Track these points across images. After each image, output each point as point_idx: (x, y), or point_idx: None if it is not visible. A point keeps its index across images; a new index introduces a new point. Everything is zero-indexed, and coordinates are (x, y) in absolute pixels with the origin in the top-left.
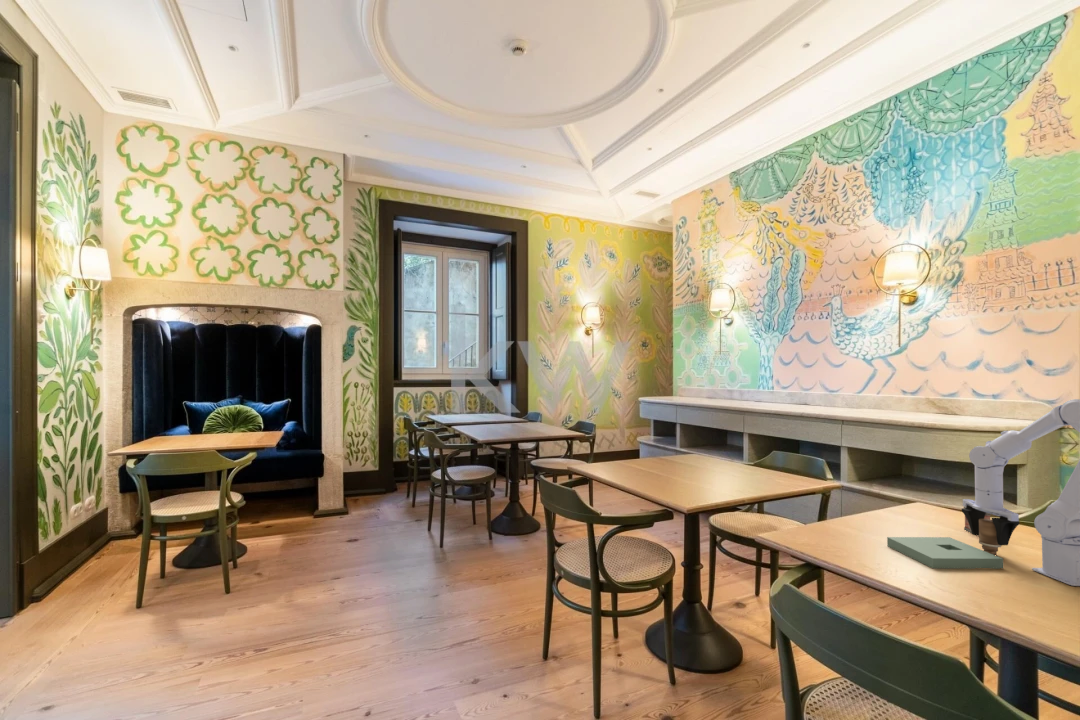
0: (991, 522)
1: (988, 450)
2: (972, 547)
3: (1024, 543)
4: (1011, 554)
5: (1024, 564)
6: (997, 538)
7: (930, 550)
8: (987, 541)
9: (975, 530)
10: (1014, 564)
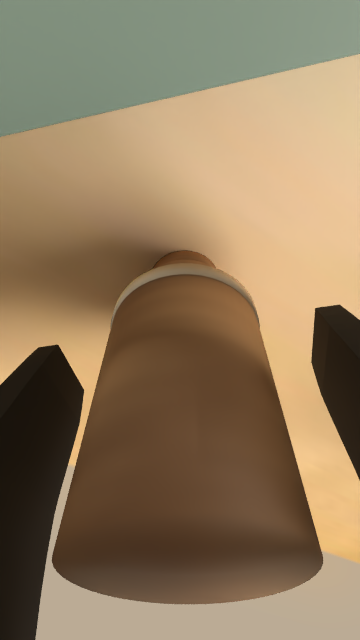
0: (93, 561)
1: None
2: (18, 85)
3: (356, 485)
4: None
5: (34, 349)
6: (23, 381)
7: None
8: (125, 310)
9: (335, 355)
10: (3, 302)
